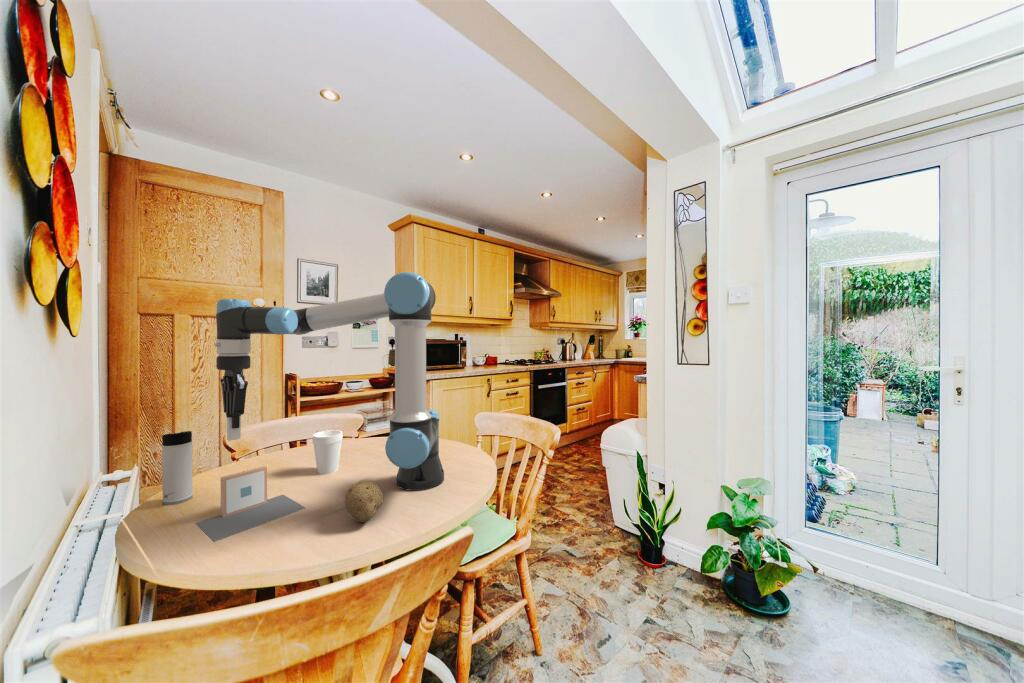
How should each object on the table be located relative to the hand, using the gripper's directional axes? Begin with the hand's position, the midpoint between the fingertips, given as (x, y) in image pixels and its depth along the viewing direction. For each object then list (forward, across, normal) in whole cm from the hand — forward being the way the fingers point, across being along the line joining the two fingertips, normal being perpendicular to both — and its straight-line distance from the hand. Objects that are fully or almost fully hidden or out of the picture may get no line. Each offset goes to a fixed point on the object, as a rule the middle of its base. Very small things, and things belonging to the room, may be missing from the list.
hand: (233, 439), depth 101 cm
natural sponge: (+18, +38, +16) cm, 45 cm away
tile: (+18, +7, 0) cm, 19 cm away
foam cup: (+18, -3, +28) cm, 34 cm away
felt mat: (+18, +13, 0) cm, 22 cm away
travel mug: (+18, -14, -9) cm, 25 cm away
